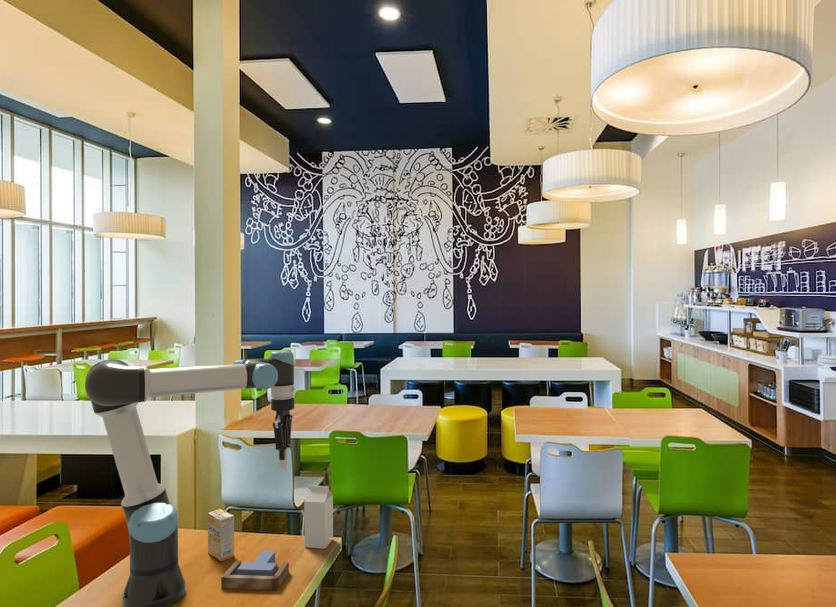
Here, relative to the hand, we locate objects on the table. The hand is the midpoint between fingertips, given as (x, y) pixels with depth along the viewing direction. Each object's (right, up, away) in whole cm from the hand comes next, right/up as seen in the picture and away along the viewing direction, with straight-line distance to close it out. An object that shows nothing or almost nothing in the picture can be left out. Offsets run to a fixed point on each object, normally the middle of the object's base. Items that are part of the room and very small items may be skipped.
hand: (283, 468), depth 170 cm
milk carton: (+12, -25, -2) cm, 27 cm away
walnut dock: (-2, -24, -23) cm, 34 cm away
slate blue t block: (-1, -24, -20) cm, 31 cm away
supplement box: (-17, -25, -9) cm, 32 cm away
